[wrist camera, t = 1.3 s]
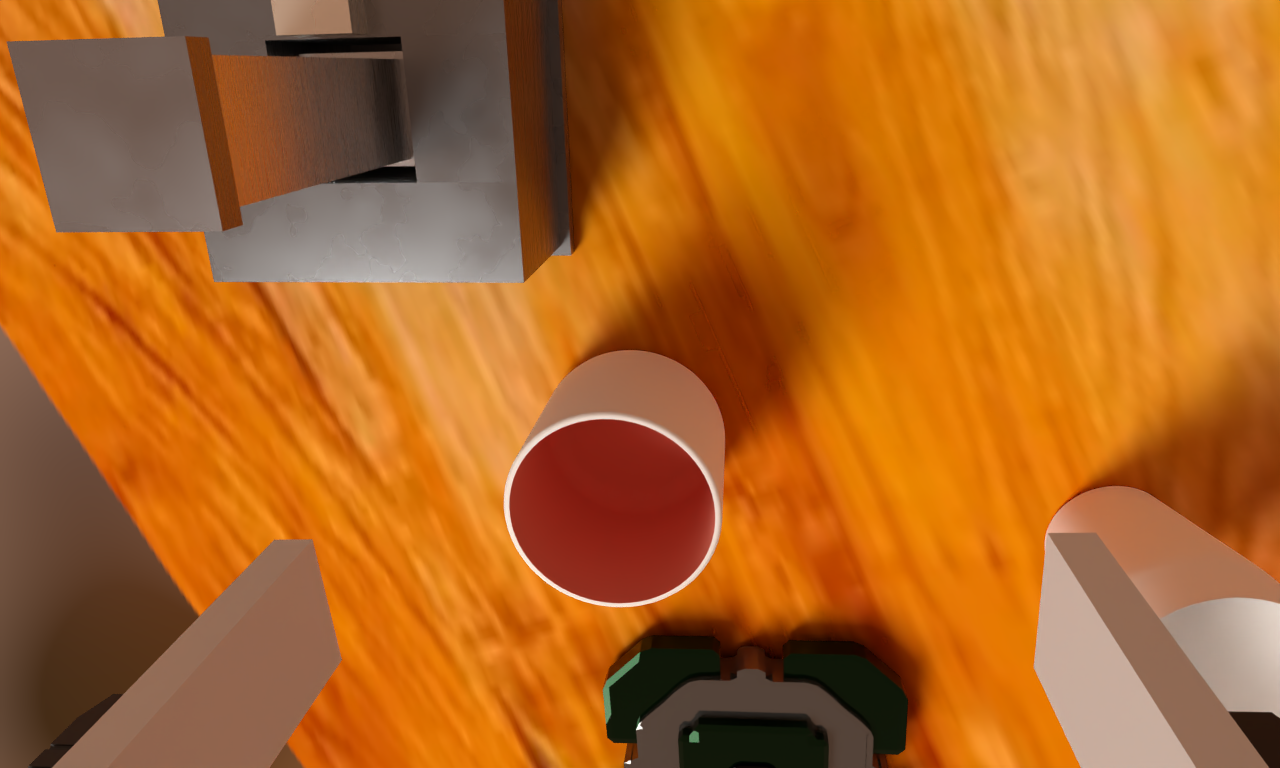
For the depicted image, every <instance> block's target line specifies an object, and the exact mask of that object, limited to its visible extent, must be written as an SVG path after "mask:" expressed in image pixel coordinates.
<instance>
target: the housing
mask: <svg viewBox="0 0 1280 768" xmlns="http://www.w3.org/2000/svg"><path fill="white" fill-rule="evenodd" d="M158 4H159V9H160V14H161V19H162V24H163V29H164V34H165V37H173V36H191V37H209V43H210V48H211V54H212V55H238V56H283V57H299V54H321V53H357V52H392V51H402V53H403V61H404V70H405V79H406V88H407V97H408V106H409V115H410V124H411V133H412V142H413V151H414V160H415V166H385V167H380V168H376V169H373V170H369V171H366V172H362V173H359V174H355V175H351V176H348V177H344V178H341V179H337V180H334V181H330V182H326V183H323V184H319V185H316V186H312V187H309V188H305V189H301V190H298V191H294V192H291V193H287V194H284V195H280V196H276V197H273V198H269V199H266V200H262V201H259V202H255V203H251V204H248V205H244V206H241V207H240V211H241V216H242V222H243V225H241V226H238V227H235V228H232V229H229V230H226V231H207V232H204V233H205V238H206V243H207V248H208V253H209V258H210V263H211V268H212V273H213V278H214V282H491V283H524V282H525V281H526V280H527V279H528V278H529V277H530V276H531V275H532V274H533V273H534V272H535V271H536V270H537V269H538V268H539V267H540V266H541V265H542V264H543V263H544V262H545V261H546V260H547V259H548V258H549V257H550V256H551V255H572V254H573V252H574V234H573V214H572V194H571V175H570V155H569V135H568V115H567V96H566V76H565V56H564V36H563V17H562V0H158Z"/></svg>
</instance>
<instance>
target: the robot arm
mask: <svg viewBox="0 0 1280 768" xmlns="http://www.w3.org/2000/svg"><path fill="white" fill-rule="evenodd" d="M341 660H342V659H341V655H340V651H339V647H338V643H337V638H336V634H335V630H334V626H333V622H332V618H331V614H330V610H329V606H328V602H327V598H326V593H325V589H324V585H323V581H322V577H321V573H320V569H319V565H318V561H317V557H316V553H315V548H314V544H313V540H274V541H273V542H272V543H271V544H270V545H269V546H268V547H267V548H266V549H265V550H264V551H263V552H262V553H261V554H260V555H259V556H258V557H257V558H256V559H255V560H254V561H253V562H252V563H251V564H250V565H249V566H248V568H247V569H246V570H245V571H244V572H243V573H242V574H241V575H240V576H239V577H238V578H237V579H236V580H235V581H234V582H233V583H232V584H231V585H230V586H229V587H228V588H227V589H226V590H225V591H224V592H223V593H222V594H221V595H220V596H219V597H218V598H217V599H216V600H215V601H214V602H213V603H212V604H211V605H210V606H209V607H208V608H207V609H206V611H205V612H204V613H203V614H202V615H201V616H200V617H199V618H198V619H197V620H196V621H195V622H194V623H193V624H192V625H191V626H190V627H189V628H188V629H187V630H186V631H185V632H184V633H183V634H182V635H181V636H180V637H179V638H178V639H177V640H176V641H175V642H174V643H173V644H172V645H171V646H170V648H168V649H167V650H166V651H165V653H164V654H163V655H162V656H161V657H160V658H159V659H158V660H157V661H156V662H155V663H154V664H153V665H152V666H151V667H150V668H149V669H148V670H147V671H146V672H145V673H144V674H143V675H142V676H141V677H140V678H139V679H138V680H137V681H136V682H135V683H134V684H133V685H132V686H131V687H130V688H129V689H128V690H127V691H126V692H125V693H124V694H113V695H111V696H110V697H108V698H107V699H105V700H104V701H102V702H100V703H99V704H98V705H96V706H94V707H93V708H91V709H90V710H88V711H87V712H85V713H84V714H82V715H81V716H79V717H78V718H77V719H76V720H75V721H74V722H73V723H72V724H71V725H70V726H69V727H68V728H67V729H65V731H63V733H62V734H60V735H59V737H57V739H55V740H54V741H53V742H52V743H51V748H50V749H49V750H48V749H46V750H44V751H43V752H42V753H41V754H40V755H39V756H38V757H37V758H36V759H35V760H34V761H33V762H32V763H31V764H30V765H29V768H269V767H270V766H271V764H272V763H273V762H274V760H275V759H276V757H277V756H278V754H279V752H280V751H281V750H282V748H283V747H284V745H285V744H286V742H287V741H288V739H289V738H290V736H291V735H292V733H293V732H294V730H295V729H296V727H297V726H298V724H299V723H300V721H301V720H302V718H303V717H304V715H305V714H306V712H307V711H308V709H309V708H310V706H311V705H312V703H313V702H314V700H315V699H316V697H317V696H318V694H319V693H320V691H321V690H322V688H323V687H324V685H325V684H326V682H327V681H328V680H329V678H330V677H331V675H332V674H333V672H334V671H335V669H336V668H337V666H338V665H339V663H340V662H341ZM1034 669H1035V671H1036V673H1037V675H1038V677H1039V680H1040V682H1041V684H1042V686H1043V688H1044V690H1045V692H1046V694H1047V696H1048V699H1049V701H1050V703H1051V705H1052V707H1053V709H1054V711H1055V713H1056V716H1057V718H1058V720H1059V722H1060V724H1061V726H1062V728H1063V730H1064V733H1065V735H1066V737H1067V739H1068V741H1069V743H1070V745H1071V747H1072V749H1073V752H1074V754H1075V756H1076V758H1077V760H1078V762H1079V764H1080V766H1081V768H1280V718H1279V717H1278V716H1276V715H1275V714H1273V713H1272V712H1235V711H1227V710H1226V708H1225V707H1224V706H1223V704H1222V703H1221V702H1220V700H1219V699H1218V698H1217V696H1216V695H1215V693H1214V692H1213V691H1212V689H1211V688H1210V687H1209V685H1208V684H1207V683H1206V681H1205V680H1204V679H1203V677H1202V676H1201V674H1200V673H1199V672H1198V670H1197V669H1196V668H1195V666H1194V665H1193V664H1192V662H1191V661H1190V660H1189V658H1188V657H1187V655H1186V654H1185V653H1184V651H1183V650H1182V649H1181V647H1180V646H1179V645H1178V643H1177V642H1176V641H1175V639H1174V638H1173V636H1172V635H1171V634H1170V632H1169V631H1168V630H1167V628H1166V627H1165V626H1164V624H1163V623H1162V622H1161V620H1160V619H1159V617H1158V616H1157V615H1156V613H1155V612H1154V611H1153V609H1152V608H1151V607H1150V605H1149V604H1148V603H1147V601H1146V600H1145V598H1144V597H1143V596H1142V594H1141V593H1140V592H1139V590H1138V589H1137V588H1136V586H1135V585H1134V584H1133V582H1132V581H1131V579H1130V578H1129V577H1128V575H1127V574H1126V573H1125V571H1124V570H1123V569H1122V567H1121V566H1120V565H1119V563H1118V562H1117V560H1116V559H1115V558H1114V556H1113V555H1112V554H1111V552H1110V551H1109V550H1108V548H1107V547H1106V545H1105V544H1104V543H1103V541H1102V540H1101V539H1100V537H1099V536H1098V535H1097V533H1096V532H1093V533H1047V541H1046V551H1045V561H1044V571H1043V581H1042V591H1041V601H1040V611H1039V621H1038V631H1037V641H1036V651H1035V661H1034Z"/></svg>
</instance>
